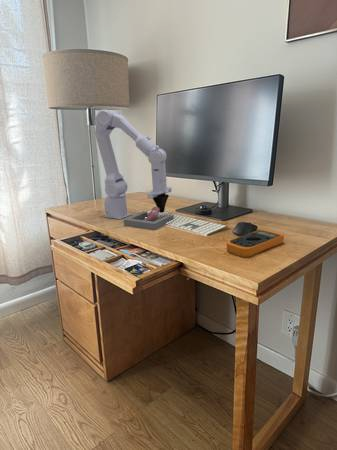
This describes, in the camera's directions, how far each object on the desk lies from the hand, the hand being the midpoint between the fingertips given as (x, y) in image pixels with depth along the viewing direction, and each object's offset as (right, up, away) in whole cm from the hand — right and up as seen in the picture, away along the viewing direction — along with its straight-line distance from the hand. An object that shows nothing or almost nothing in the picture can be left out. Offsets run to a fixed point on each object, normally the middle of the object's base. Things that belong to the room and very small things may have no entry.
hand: (161, 212), depth 131 cm
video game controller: (-3, -4, -4) cm, 7 cm away
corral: (-5, -5, -6) cm, 9 cm away
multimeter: (+29, -12, -37) cm, 48 cm away
